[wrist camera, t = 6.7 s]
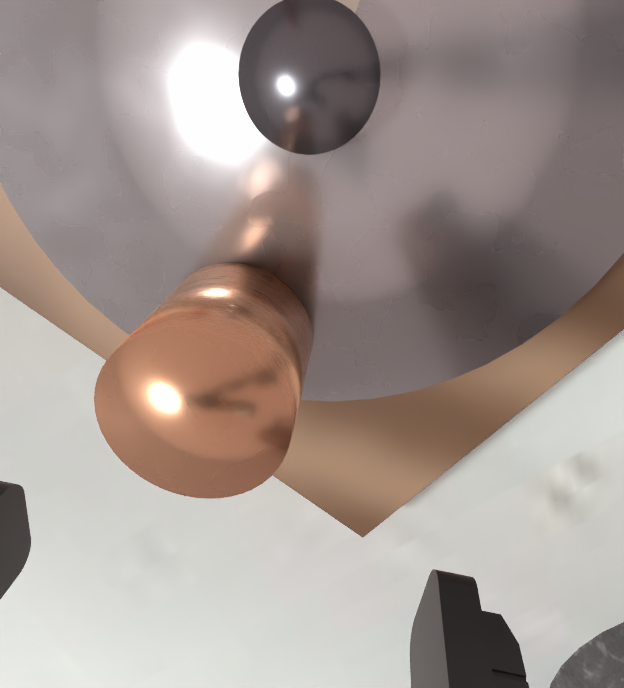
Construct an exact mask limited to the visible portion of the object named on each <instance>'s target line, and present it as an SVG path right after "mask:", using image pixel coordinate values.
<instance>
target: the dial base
mask: <svg viewBox="0 0 624 688" xmlns="http://www.w3.org/2000/svg"><path fill="white" fill-rule="evenodd" d="M0 287H1V288H2V289H4V290H5V291H7V292H8V293H10V294H11V295H12V296H14V297H15V298H17V299H18V300H20V301H21V302H23V303H24V304H25V305H27V306H28V307H30V308H31V309H33V310H34V311H36V312H37V313H38V314H40V315H41V316H43V317H44V318H46V319H47V320H49V321H50V322H51V323H53V324H54V325H56V326H57V327H59V328H60V329H62V330H63V331H65V332H66V333H67V334H69V335H70V336H72V337H73V338H75V339H76V340H78V341H79V342H80V343H82V344H83V345H85V346H86V347H88V348H89V349H91V350H92V351H93V352H95V353H96V354H98V355H99V356H101V357H102V358H104V359H105V360H106V361H107V359H108V358H109V357H110V356H111V355H112V354H113V353H114V352H115V350H116V349H117V348H118V347H119V346H120V345H121V344H122V343H123V342H124V341H125V340H126V339H127V338H128V337H129V336H130V335H129V334H127V333H126V332H124V331H123V330H121V329H120V328H119V327H118V326H116V325H115V324H114V323H113V322H112V321H110V320H109V319H108V318H107V317H106V316H105V315H103V314H102V313H101V312H100V311H99V310H97V309H96V308H95V307H94V306H93V305H91V304H90V303H89V302H88V301H87V300H86V299H85V298H84V297H83V296H82V295H81V294H80V293H79V291H78V290H77V289H76V288H75V287H74V286H73V285H72V284H71V283H70V282H69V281H68V280H67V279H66V278H65V277H64V276H63V275H62V274H61V273H60V272H59V270H58V269H57V268H56V267H55V265H54V264H53V263H52V261H51V260H50V259H49V258H48V256H47V255H46V254H45V253H44V251H43V250H42V249H41V248H40V246H39V245H38V244H37V243H36V241H35V240H34V239H33V237H32V236H31V234H30V232H29V231H28V229H27V228H26V226H25V225H24V223H23V221H22V220H21V218H20V217H19V215H18V214H17V212H16V210H15V209H14V207H13V206H12V204H11V203H10V201H9V199H8V197H7V195H6V193H5V191H4V189H3V187H2V185H1V183H0ZM623 329H624V253H623V254H622V255H621V257H620V258H619V259H618V260H617V261H616V262H615V263H614V264H613V266H612V267H611V268H610V269H609V270H608V271H607V272H606V274H605V275H604V276H603V277H602V278H601V279H600V280H599V281H598V283H597V284H596V285H595V286H594V287H593V288H592V289H590V290H589V291H588V292H587V293H586V294H585V295H584V296H583V297H582V298H581V299H579V300H578V301H577V302H576V303H575V304H574V305H573V306H572V307H571V308H570V309H568V310H567V311H566V312H565V313H564V314H563V315H562V316H561V317H559V318H558V319H557V320H555V321H554V322H553V323H551V324H550V325H548V326H547V327H546V328H544V329H543V330H542V331H540V332H539V333H537V334H536V335H535V336H533V337H532V338H531V339H529V340H528V341H526V342H525V343H523V344H522V345H520V346H518V347H516V348H515V349H513V350H511V351H509V352H508V353H506V354H504V355H502V356H501V357H499V358H497V359H495V360H493V361H492V362H490V363H488V364H486V365H484V366H482V367H479V368H477V369H475V370H472V371H470V372H468V373H465V374H463V375H461V376H458V377H456V378H454V379H451V380H449V381H445V382H442V383H439V384H435V385H432V386H429V387H425V388H422V389H419V390H415V391H412V392H407V393H402V394H396V395H391V396H385V397H380V398H374V399H362V400H347V401H316V400H300V403H299V407H298V412H297V416H296V420H295V424H294V428H293V433H292V437H291V441H290V445H289V448H288V452H287V454H286V456H285V458H284V460H283V462H282V463H281V465H280V466H279V468H278V469H277V470H276V471H275V473H274V474H273V476H274V477H276V478H277V479H279V480H280V481H282V482H283V483H285V484H286V485H287V486H289V487H290V488H292V489H293V490H295V491H296V492H298V493H299V494H300V495H302V496H303V497H305V498H306V499H308V500H309V501H311V502H312V503H314V504H315V505H316V506H318V507H319V508H321V509H322V510H324V511H325V512H327V513H328V514H329V515H331V516H332V517H334V518H335V519H337V520H338V521H340V522H341V523H342V524H344V525H345V526H347V527H348V528H350V529H351V530H353V531H354V532H355V533H357V534H358V535H360V536H361V537H364V536H365V535H367V534H368V533H369V532H370V531H372V530H373V529H374V528H375V527H377V526H378V525H379V524H380V523H382V522H383V521H384V520H385V519H387V518H388V517H389V516H390V515H392V514H393V513H394V512H395V511H397V510H398V509H399V508H400V507H402V506H403V505H404V504H405V503H407V502H408V501H409V500H410V499H412V498H413V497H414V496H415V495H417V494H418V493H419V492H420V491H422V490H423V489H424V488H425V487H427V486H428V485H429V484H430V483H432V482H433V481H434V480H435V479H437V478H438V477H439V476H440V475H442V474H443V473H444V472H445V471H447V470H448V469H449V468H450V467H452V466H453V465H454V464H455V463H457V462H458V461H459V460H460V459H462V458H463V457H464V456H465V455H467V454H468V453H469V452H470V451H472V450H473V449H474V448H475V447H477V446H478V445H479V444H480V443H482V442H483V441H484V440H485V439H487V438H488V437H489V436H490V435H492V434H493V433H494V432H495V431H497V430H498V429H499V428H500V427H502V426H503V425H504V424H505V423H507V422H508V421H509V420H510V419H512V418H513V417H514V416H515V415H517V414H518V413H519V412H520V411H522V410H523V409H524V408H525V407H527V406H528V405H529V404H530V403H532V402H533V401H534V400H535V399H537V398H538V397H539V396H540V395H542V394H543V393H544V392H545V391H547V390H548V389H549V388H550V387H552V386H553V385H554V384H555V383H557V382H558V381H559V380H560V379H562V378H563V377H564V376H565V375H567V374H568V373H569V372H570V371H572V370H573V369H574V368H575V367H577V366H578V365H579V364H580V363H582V362H583V361H584V360H585V359H587V358H588V357H589V356H590V355H592V354H593V353H594V352H595V351H597V350H598V349H599V348H600V347H602V346H603V345H604V344H605V343H607V342H608V341H609V340H610V339H612V338H613V337H614V336H615V335H617V334H618V333H619V332H620V331H622V330H623Z"/></svg>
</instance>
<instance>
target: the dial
mask: <svg viewBox="0 0 624 688" xmlns="http://www.w3.org/2000/svg"><path fill="white" fill-rule="evenodd" d="M0 183H1V185H2V187H3V189H4V191H5V193H6V195H7V197H8V199H9V201H10V203H11V204H12V206H13V207H14V209H15V210H16V212H17V214H18V215H19V217H20V218H21V220H22V221H23V223H24V225H25V226H26V228H27V229H28V231H29V232H30V234H31V236H32V237H33V239H34V240H35V241H36V243H37V244H38V245H39V246H40V248H41V249H42V250H43V251H44V253H45V254H46V255H47V256H48V258H49V259H50V260H51V261H52V263H53V264H54V265H55V267H56V268H57V269H58V270H59V272H60V273H61V274H62V275H63V276H64V277H65V278H66V279H67V280H68V281H69V282H70V283H71V284H72V285H73V286H74V287H75V288H76V289H77V290H78V291H79V293H80V294H81V295H82V296H83V297H84V298H85V299H86V300H87V301H88V302H89V303H90V304H91V305H93V306H94V307H95V308H96V309H97V310H99V311H100V312H101V313H102V314H103V315H105V316H106V317H107V318H108V319H109V320H110V321H112V322H113V323H114V324H115V325H116V326H118V327H119V328H120V329H121V330H123V331H124V332H126V333H127V334H129V335H130V336H129V337H128V338H127V339H126V340H125V341H124V342H123V343H122V344H121V345H120V346H119V347H118V348H117V349H116V350H115V352H114V353H113V354H112V355H111V356H110V357H109V358H108V359H107V361H106V362H105V364H104V366H103V367H102V369H101V371H100V374H99V376H98V378H97V383H96V387H95V396H94V403H95V412H96V416H97V421H98V424H99V426H100V429H101V432H102V434H103V435H104V437H105V439H106V441H107V443H108V444H109V446H110V447H111V449H112V450H113V452H114V453H115V454H116V455H117V456H118V457H119V458H120V460H121V461H122V462H123V463H124V464H125V465H127V466H128V467H129V468H130V469H131V470H132V471H134V472H135V473H136V474H138V475H139V476H140V477H142V478H143V479H145V480H147V481H148V482H150V483H152V484H154V485H156V486H158V487H160V488H162V489H165V490H168V491H170V492H173V493H177V494H180V495H184V496H190V497H196V498H223V497H230V496H234V495H238V494H242V493H244V492H247V491H249V490H252V489H253V488H255V487H257V486H259V485H260V484H262V483H263V482H265V481H266V480H267V479H268V478H270V477H271V476H272V475H273V474H274V473H275V471H276V470H277V469H278V468H279V466H280V465H281V463H282V462H283V460H284V458H285V456H286V454H287V452H288V448H289V445H290V441H291V437H292V433H293V428H294V424H295V420H296V416H297V412H298V407H299V403H300V400H316V401H347V400H362V399H374V398H380V397H385V396H391V395H396V394H402V393H407V392H412V391H415V390H419V389H422V388H425V387H429V386H432V385H435V384H439V383H442V382H445V381H449V380H451V379H454V378H456V377H458V376H461V375H463V374H465V373H468V372H470V371H472V370H475V369H477V368H479V367H482V366H484V365H486V364H488V363H490V362H492V361H493V360H495V359H497V358H499V357H501V356H502V355H504V354H506V353H508V352H509V351H511V350H513V349H515V348H516V347H518V346H520V345H522V344H523V343H525V342H526V341H528V340H529V339H531V338H532V337H533V336H535V335H536V334H537V333H539V332H540V331H542V330H543V329H544V328H546V327H547V326H548V325H550V324H551V323H553V322H554V321H555V320H557V319H558V318H559V317H561V316H562V315H563V314H564V313H565V312H566V311H567V310H568V309H570V308H571V307H572V306H573V305H574V304H575V303H576V302H577V301H578V300H579V299H581V298H582V297H583V296H584V295H585V294H586V293H587V292H588V291H589V290H590V289H592V288H593V287H594V286H595V285H596V284H597V283H598V281H599V280H600V279H601V278H602V277H603V276H604V275H605V274H606V272H607V271H608V270H609V269H610V268H611V267H612V266H613V264H614V263H615V262H616V261H617V260H618V259H619V258H620V257H621V255H622V254H623V253H624V0H0Z"/></svg>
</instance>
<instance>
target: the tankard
mask: <svg viewBox="0 0 624 688" xmlns="http://www.w3.org/2000/svg"><path fill="white" fill-rule="evenodd" d="M550 688H624V622H623V623H621V624H619V625H617V626H615V627H613V628H611V629H609V630H606V631H604V632H602V633H601V634H599V635H598V636H596V637H595V638H593V639H592V640H590V641H589V642H588V643H586V644H585V645H583V646H582V647H580V648H579V649H578V650H577V651H576V652H575V653H574V654H573V655H572V656H571V657H570V658H569V659H568V660H567V661H566V662H565V663H564V664H563V665H562V666H561V668H560V669H559V671H558V673H557V674H556V676H555V678H554V679H553V681H552V683H551V685H550Z"/></svg>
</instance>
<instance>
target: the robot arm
mask: <svg viewBox="0 0 624 688" xmlns="http://www.w3.org/2000/svg"><path fill="white" fill-rule="evenodd" d="M30 547H31V536H30V529H29V522H28V515H27V508H26V501H25V493H24V490H23V488H22V486H20V485H18V484H13V483H8V482H3V481H0V599H1V598H2V597H3V595H4V594H5V592H6V591H7V590H8V588H9V587H10V586H11V584H12V583H13V582H14V580H15V579H16V578H17V576H18V575H19V574H20V572H21V571H22V569H23V567H24V565H25V563H26V561H27V558H28V555H29V552H30ZM410 670H411V688H529V685H528V682H526V672H525V668H524V664H523V660H522V655H521V651H520V647H519V644H518V642H517V640H516V639H515V637H514V635H513V634H512V632H511V630H510V629H509V627H508V625H507V624H506V622H505V621H504V619H503V617H502V616H501V614H496V613H491V612H486V611H481V605H480V599H479V594H478V588H477V584H476V581H475V579H474V578H473V577H469V576H464V575H459V574H454V573H449V572H444V571H439V570H432V571H431V573H430V575H429V578H428V581H427V584H426V587H425V590H424V593H423V596H422V599H421V602H420V604H419V607H418V610H417V613H416V616H415V619H414V623H413V627H412V633H411V642H410Z"/></svg>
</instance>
